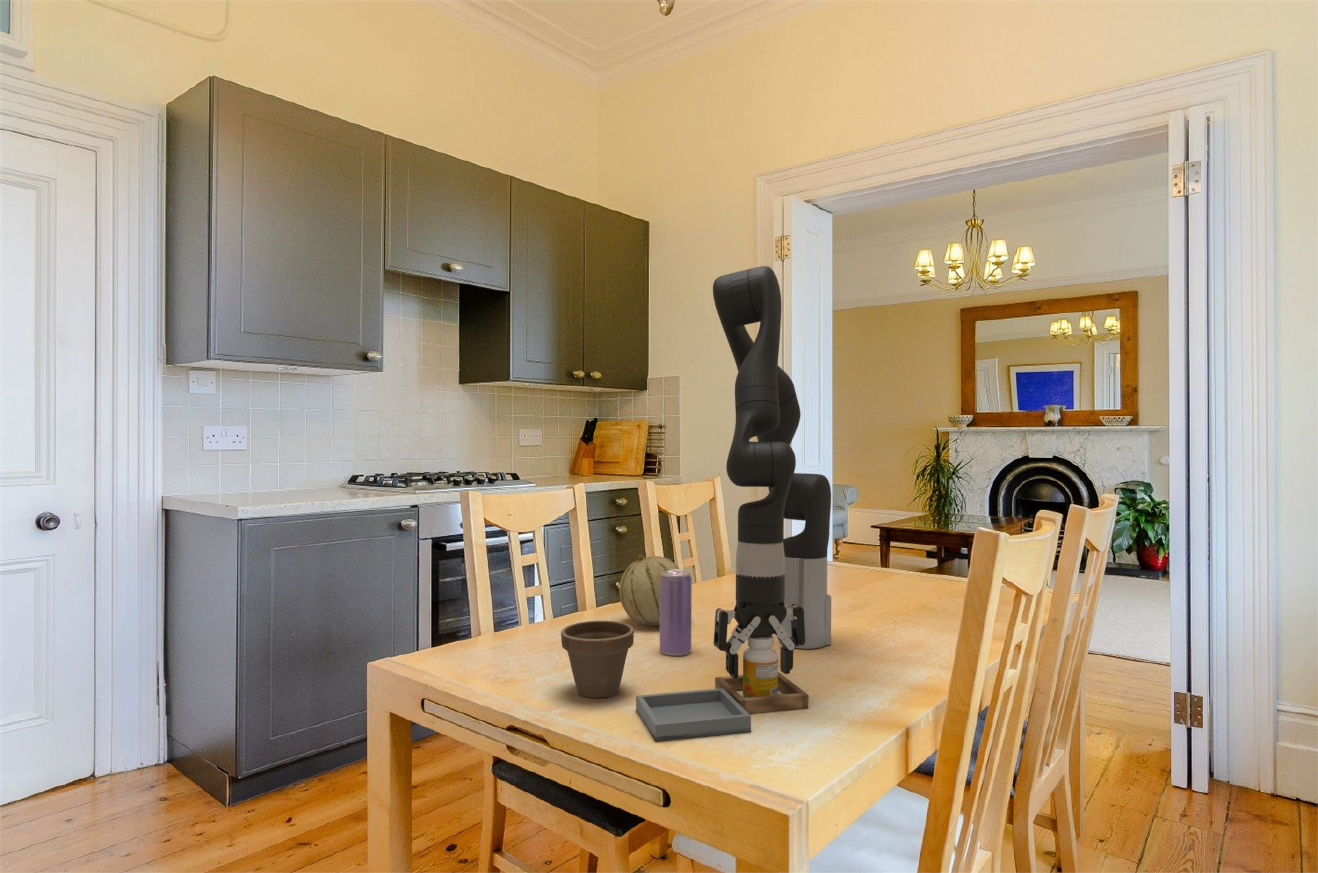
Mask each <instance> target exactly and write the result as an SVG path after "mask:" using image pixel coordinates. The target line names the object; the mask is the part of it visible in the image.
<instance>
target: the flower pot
mask: <svg viewBox="0 0 1318 873" xmlns="http://www.w3.org/2000/svg"><path fill="white" fill-rule="evenodd" d="M634 634H635V630H634V628H633V626H631V625H630V624H627V623H625V622H622V621H615V620H587V621H581V622H576V623H572V624H570V625H567V626H565V627H564V628H562V629H561V630H560V640H561V647H562V649H564V650H565V651H566V652H567V655H568V659H569V664H570V668H571V672H572V677H573V680H574V681H573V682H574V683H575V687H576V690H577V693H578V694H579V695H581V696H583V697H585V698H590V699H604V698H609V697H612V696H615V695H616V694H617V693H618V692H619V690H620V686H621V682H622V679H623V674H624V669H625V665H626V659H627V657H628V652H629V649H630V648H632V647H633V645H634V642H635V641H634V640H635V638H634V636H635V635H634Z"/></svg>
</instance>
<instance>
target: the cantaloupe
mask: <svg viewBox="0 0 1318 873" xmlns="http://www.w3.org/2000/svg"><path fill="white" fill-rule="evenodd" d="M665 570H681V568H680V567H679V566H678V565H677V564H676V563H675V562H673V561H672V560H671V559H669V558H667V557H663V556H659V555H653V556H652V555H651V556H647V557H645V556H643V555H642V554H640V555H638V560H636V561H633V562H632V563H630V565H629V566H627V567H626V569H625V570H624V572H623V574H622V576H621V578H620V582H619V587H618V588H619V589H618V591H619V592H618V593H619V600H620V603H621V606H622V608H623V610H624V612H625V613H626V614H627V616H628V617H629V618H630V619H631V620H633V621H634V622H637V623H638V624H642V625H646V626H660V576H661V572H662V571H665Z"/></svg>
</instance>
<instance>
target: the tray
mask: <svg viewBox="0 0 1318 873" xmlns="http://www.w3.org/2000/svg"><path fill="white" fill-rule="evenodd" d="M635 711H636V713H637V714H638V716H639V718H640V719H641V721H642V722H643V724H644V726H645V727H646V729H647V730H648V731H649V733H650V735H651V736H652V739H653V740H654V741H655V742H661V741H662V742H663V741H664V742H665V741H673V740H675V741H676V740H683V739H684V740H685V739H693V738H703V737H712V736H722V735H732V734H741V733H742V734H743V733H751V732H752V715H751V714H749V713H748V712H747V711H746V710H745V709H744V708H743V707H741V706H740V705H739V704H738V703H737V702H736V701H735V700H734V699H733V698H732V697H731V696H730V695H729V694H728V693H727V692H726V691H725V690H724V689H723V688H720V689H715V688H710V689H699V690H698V689H696V690H687V691H675V692H674V691H673V692H664V693H651V694H650V693H649V694H641V695H636V696H635Z"/></svg>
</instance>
